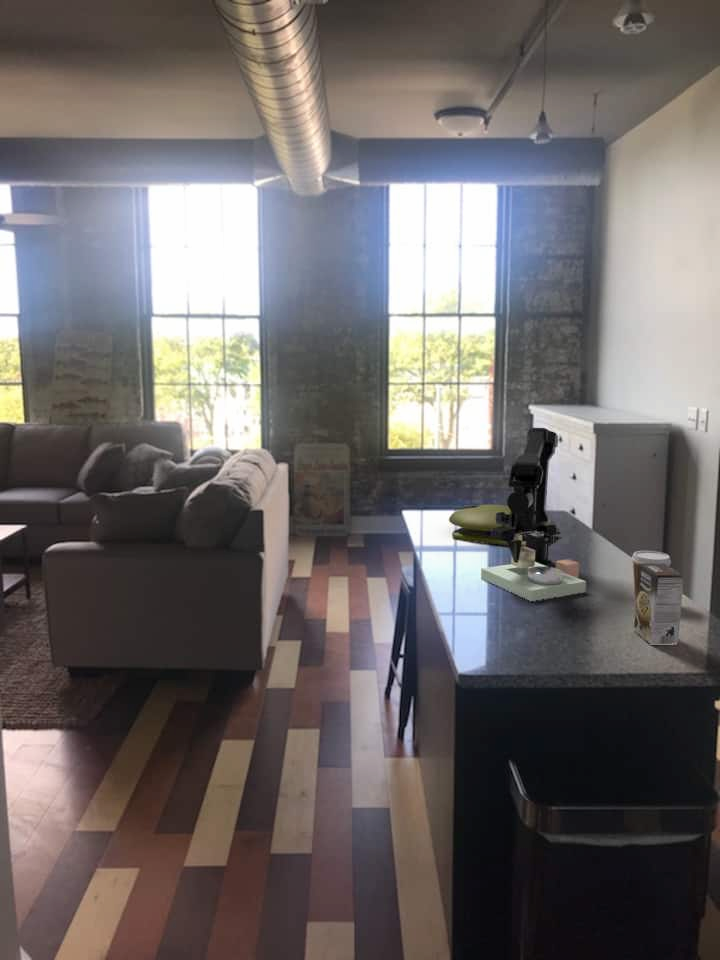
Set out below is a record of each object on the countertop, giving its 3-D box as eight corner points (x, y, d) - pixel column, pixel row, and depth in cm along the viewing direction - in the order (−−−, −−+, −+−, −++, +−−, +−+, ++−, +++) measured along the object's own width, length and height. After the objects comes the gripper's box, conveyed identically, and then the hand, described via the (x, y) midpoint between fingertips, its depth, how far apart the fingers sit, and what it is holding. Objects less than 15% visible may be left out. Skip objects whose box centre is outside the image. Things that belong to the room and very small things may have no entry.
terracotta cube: (567, 574, 218) (568, 559, 217) (578, 578, 214) (579, 563, 213) (555, 576, 216) (556, 561, 215) (566, 580, 212) (566, 564, 211)
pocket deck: (532, 570, 221) (532, 560, 220) (585, 592, 201) (586, 581, 201) (481, 578, 213) (481, 568, 212) (531, 601, 193) (531, 590, 193)
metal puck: (547, 573, 207) (547, 564, 207) (569, 582, 199) (570, 573, 199) (520, 577, 204) (521, 568, 203) (542, 587, 196) (543, 577, 195)
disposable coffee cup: (667, 596, 198) (670, 552, 196) (669, 608, 189) (672, 561, 187) (628, 592, 201) (631, 548, 199) (628, 603, 192) (631, 557, 190)
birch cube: (524, 562, 213) (524, 546, 212) (534, 566, 209) (535, 550, 208) (511, 564, 211) (511, 548, 210) (521, 568, 207) (522, 552, 206)
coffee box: (632, 631, 173) (636, 562, 170) (659, 630, 174) (664, 562, 171) (650, 646, 164) (655, 574, 161) (679, 645, 165) (684, 574, 162)
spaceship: (561, 532, 270) (562, 505, 268) (532, 551, 244) (533, 521, 242) (469, 521, 288) (470, 495, 286) (433, 537, 262) (434, 509, 260)
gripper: (533, 498, 218) (531, 550, 221) (479, 503, 210) (477, 558, 213) (559, 505, 209) (556, 560, 211) (504, 511, 200) (501, 568, 203)
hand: (522, 561), depth 210 cm, fingers closed on birch cube, 4 cm apart
